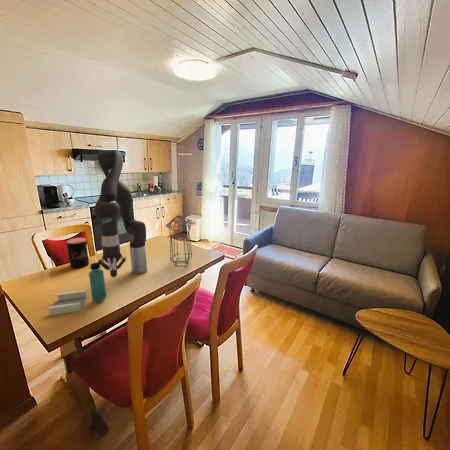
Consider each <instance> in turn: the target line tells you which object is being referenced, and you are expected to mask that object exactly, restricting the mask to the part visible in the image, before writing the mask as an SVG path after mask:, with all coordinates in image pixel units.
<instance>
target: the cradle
mask: <svg viewBox="0 0 450 450" xmlns="http://www.w3.org/2000/svg"><path fill="white" fill-rule="evenodd" d="M57 298H58V301H57V303H56V304H55V305H52V306H51V305H50V306H49V307H48V311H49V316H53V315H61V314H68V313H73V312H81V311H82V308H83V306H84V303H85V301H86V300H87V298H88V293H87V289H85V290H84V289H83V290H77V291H76V290H74V291H69V292H66V291H65V292H60V293H59V292H58V294H57Z"/></svg>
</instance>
